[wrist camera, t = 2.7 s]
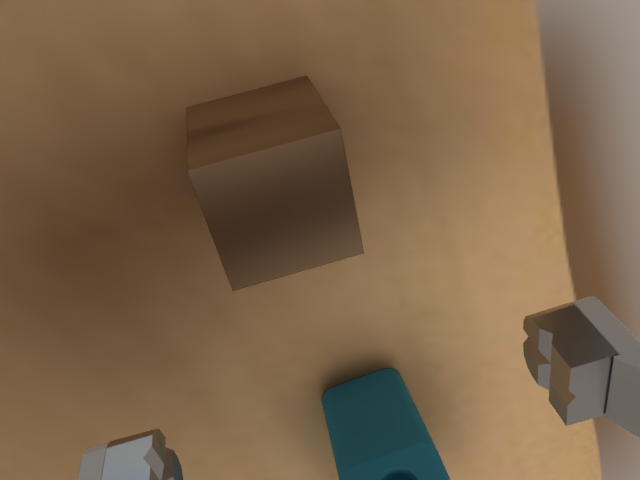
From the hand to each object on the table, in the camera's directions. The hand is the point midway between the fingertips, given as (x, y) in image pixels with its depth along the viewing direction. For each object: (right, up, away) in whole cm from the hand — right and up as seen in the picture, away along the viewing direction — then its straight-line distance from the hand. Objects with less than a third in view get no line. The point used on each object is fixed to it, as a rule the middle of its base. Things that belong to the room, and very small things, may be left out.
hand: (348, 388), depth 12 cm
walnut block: (-3, +7, +12) cm, 14 cm away
